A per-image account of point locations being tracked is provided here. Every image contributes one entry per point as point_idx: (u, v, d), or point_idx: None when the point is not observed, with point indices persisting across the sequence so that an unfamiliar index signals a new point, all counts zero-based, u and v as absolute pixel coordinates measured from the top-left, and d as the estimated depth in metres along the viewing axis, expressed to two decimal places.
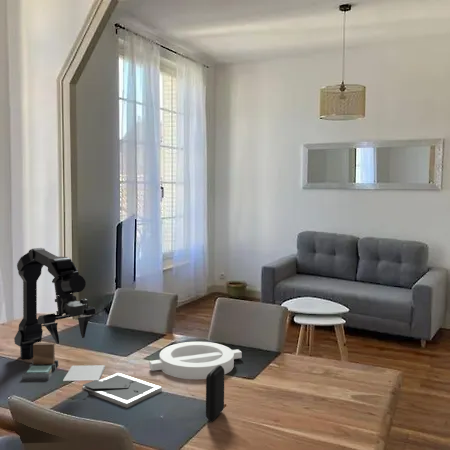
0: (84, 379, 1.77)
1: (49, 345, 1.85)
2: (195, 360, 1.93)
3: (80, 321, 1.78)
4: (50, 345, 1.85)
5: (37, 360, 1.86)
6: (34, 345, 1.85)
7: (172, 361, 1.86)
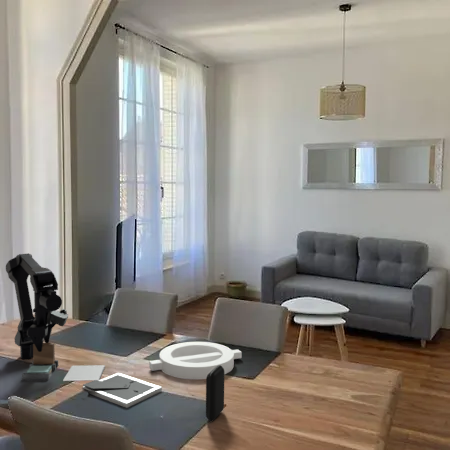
0: (84, 379, 1.77)
1: (49, 345, 1.85)
2: (195, 360, 1.93)
3: None
4: (50, 345, 1.85)
5: (37, 360, 1.86)
6: (34, 345, 1.85)
7: (171, 361, 1.86)
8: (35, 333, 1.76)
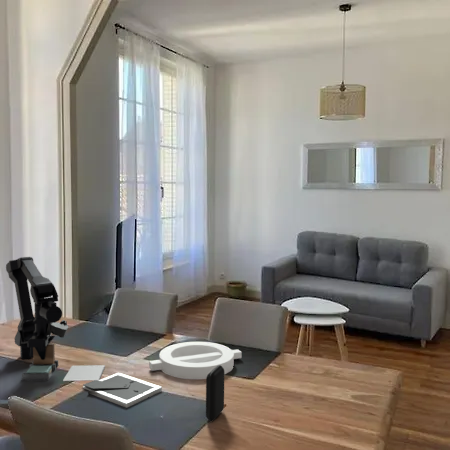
0: (84, 379, 1.77)
1: (49, 345, 1.85)
2: (195, 360, 1.93)
3: None
4: (50, 345, 1.85)
5: (37, 360, 1.86)
6: None
7: (171, 361, 1.86)
8: (35, 345, 1.77)
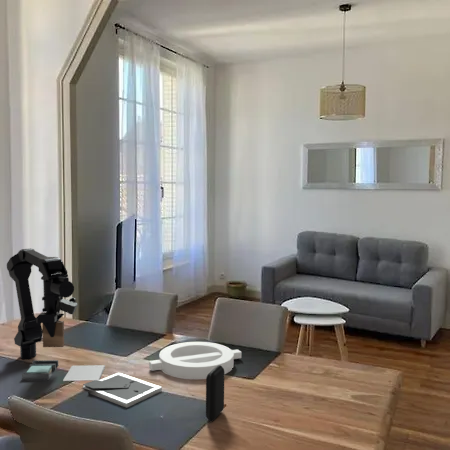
0: (84, 379, 1.77)
1: (58, 323, 1.83)
2: (195, 360, 1.93)
3: None
4: (59, 323, 1.83)
5: (46, 338, 1.84)
6: None
7: (171, 361, 1.86)
8: (44, 320, 1.75)
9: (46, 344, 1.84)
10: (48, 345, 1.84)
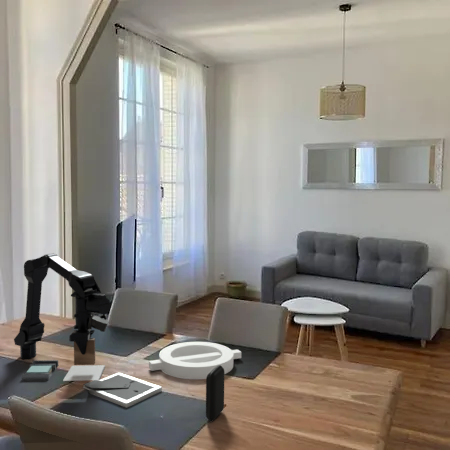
0: (84, 379, 1.77)
1: (90, 340, 1.81)
2: (195, 360, 1.93)
3: None
4: (91, 340, 1.81)
5: (78, 356, 1.81)
6: None
7: (171, 361, 1.86)
8: (78, 339, 1.72)
9: (78, 361, 1.81)
10: (79, 363, 1.82)
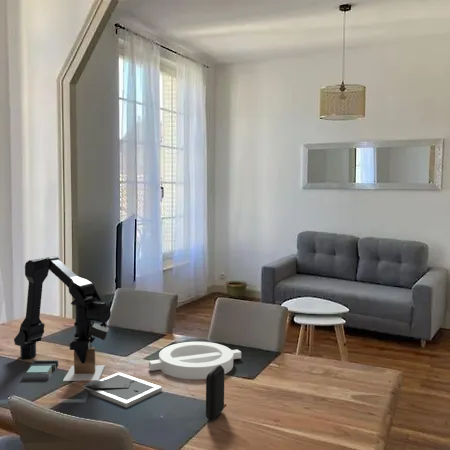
0: (84, 379, 1.77)
1: (90, 349, 1.81)
2: (195, 360, 1.93)
3: None
4: (91, 349, 1.81)
5: (78, 365, 1.82)
6: None
7: (171, 361, 1.86)
8: (78, 347, 1.73)
9: (78, 370, 1.82)
10: (79, 372, 1.82)
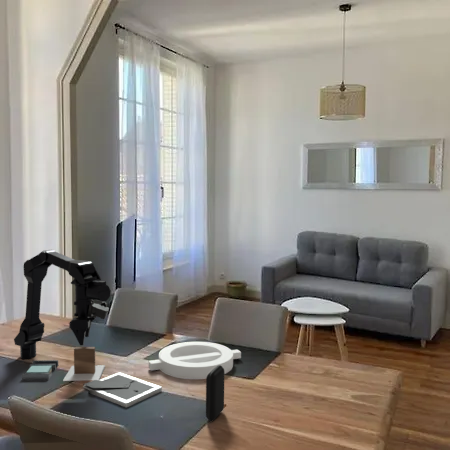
0: (84, 379, 1.77)
1: (90, 349, 1.81)
2: (194, 360, 1.93)
3: None
4: (91, 349, 1.81)
5: (78, 365, 1.82)
6: (75, 349, 1.81)
7: (171, 361, 1.86)
8: (78, 326, 1.72)
9: (78, 370, 1.82)
10: (79, 372, 1.82)
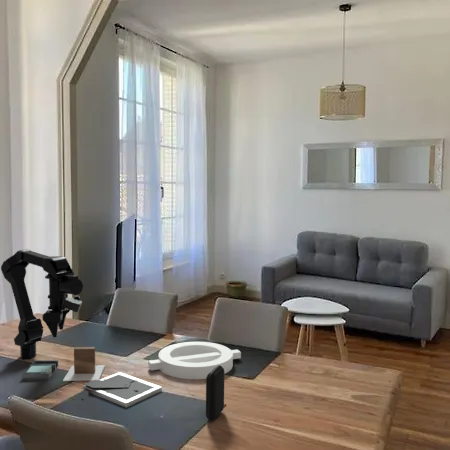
0: (84, 379, 1.77)
1: (90, 349, 1.81)
2: (194, 360, 1.93)
3: None
4: (91, 349, 1.81)
5: (78, 365, 1.82)
6: (75, 349, 1.81)
7: (170, 361, 1.86)
8: (50, 318, 1.79)
9: (78, 370, 1.82)
10: (79, 372, 1.82)
